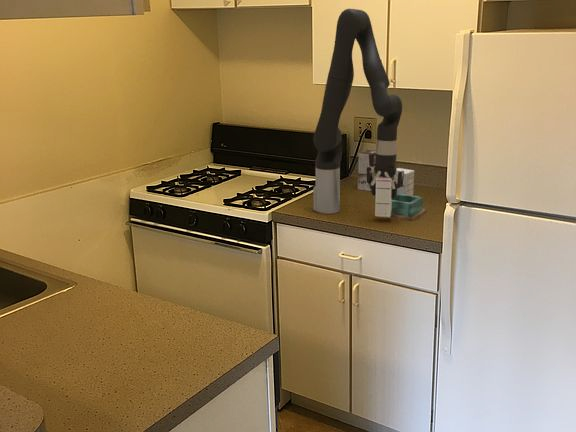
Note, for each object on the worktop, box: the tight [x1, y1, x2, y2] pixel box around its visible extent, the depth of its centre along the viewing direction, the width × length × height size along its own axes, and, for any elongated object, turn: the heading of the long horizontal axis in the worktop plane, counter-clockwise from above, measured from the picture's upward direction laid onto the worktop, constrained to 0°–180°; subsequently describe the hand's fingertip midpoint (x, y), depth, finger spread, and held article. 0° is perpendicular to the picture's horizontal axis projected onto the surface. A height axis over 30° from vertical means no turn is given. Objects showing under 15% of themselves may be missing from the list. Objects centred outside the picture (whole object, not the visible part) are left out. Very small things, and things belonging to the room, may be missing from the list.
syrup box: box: [374, 177, 392, 218], centre depth 233 cm, size 6×6×14 cm
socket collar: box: [389, 193, 427, 222], centre depth 242 cm, size 13×13×6 cm
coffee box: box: [357, 149, 376, 192], centre depth 276 cm, size 9×6×16 cm
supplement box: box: [392, 167, 415, 196], centre depth 258 cm, size 7×7×13 cm
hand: (383, 196), depth 233 cm, fingers closed on syrup box, 7 cm apart
